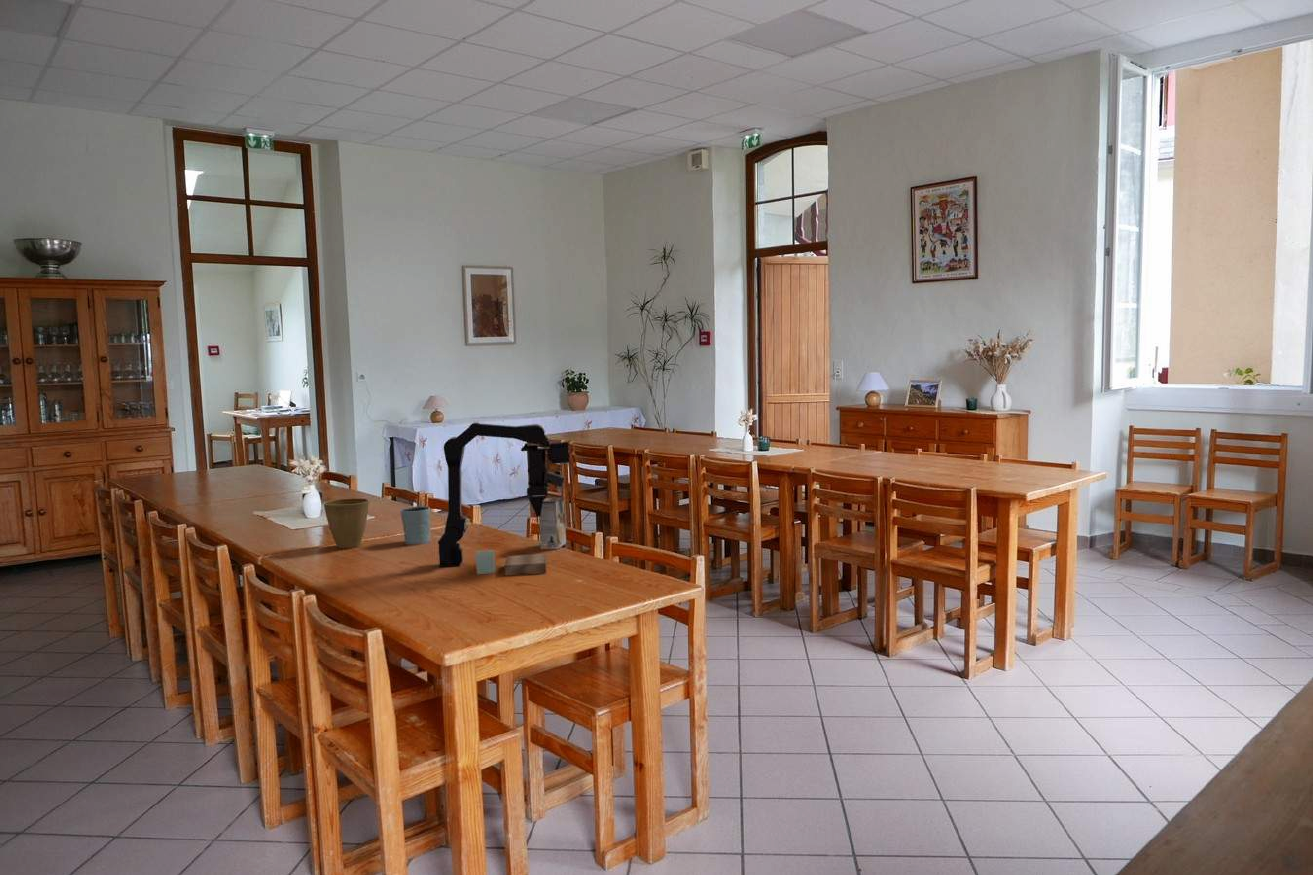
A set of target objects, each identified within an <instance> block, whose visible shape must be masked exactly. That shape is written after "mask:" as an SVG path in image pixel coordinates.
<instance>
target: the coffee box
mask: <svg viewBox="0 0 1313 875" xmlns="http://www.w3.org/2000/svg"><path fill="white" fill-rule="evenodd" d="M538 522H539V541H540V550H559V549H560V548H561V547H563V546H564V545H565V544H566V543H567V533H566V532H567V531H566V509H565V497H563V496H562V497H561V496H560V497H559V496H558V497H557V496H556V497H555V496H553V497H552V496H551V497H546V498H545V499H544V500H543V503H542V510H541V516H540V517H538ZM544 544H547V545H544ZM552 546H554V547H552ZM555 547H558V548H559V549H558V548H555Z"/></svg>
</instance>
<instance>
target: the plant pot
mask: <svg viewBox="0 0 1313 875" xmlns="http://www.w3.org/2000/svg"><path fill="white" fill-rule="evenodd" d="M369 503H370V499H367V498H361V497H360V498H359V497H355V498H354V497H353V498H351V497H349V498H339V499H334V500H328V501H324V502H323V508H324V512H325V517H326V522H327V524H328V527H329V530H330V533H331V535H332V538H333V540H334V543H335V545H336V547H337V548H338V549H352V548H353V549H354V548H358V547H359V546H360V545H361V543H362V539H363V536H364V532H365V530H366V529H365V528H366V525H367V519H368V513H369Z"/></svg>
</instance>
